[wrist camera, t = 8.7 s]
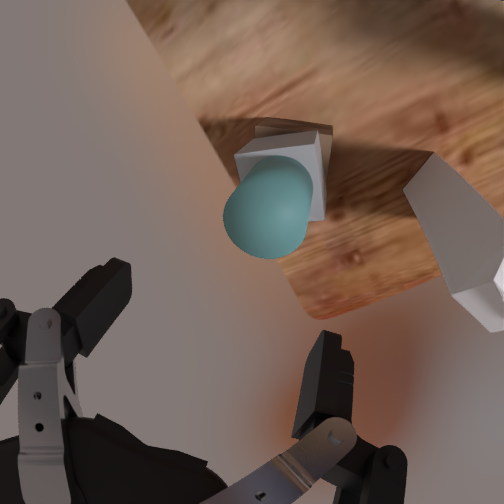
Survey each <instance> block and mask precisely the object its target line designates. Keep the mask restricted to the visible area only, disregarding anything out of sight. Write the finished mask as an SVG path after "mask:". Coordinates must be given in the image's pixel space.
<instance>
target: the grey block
mask: <svg viewBox="0 0 504 504" xmlns="http://www.w3.org/2000/svg"><path fill="white" fill-rule="evenodd" d="M275 155H281V156H287V157H290V158H293V159H295V160H297V161H298V162H300V163H301V164H302V165H303V166H304V167H305V168H306V169H307V171H308V172H309V174H310V176H311V179H312V182H313V195H312V201H311V207H310V213H309V219H308V221H320V220H325V210H326V196H327V191H326V183H325V176H324V168H323V161H322V154H321V147H320V141H319V135H318V130H316V131H307V132H298V133H290V134H283V135H276V136H269V137H262V138H255V139H252V140H251V141H250V142H248V143H247V144H246V145H245V146H244V147H243V148H241V149H240V150H239V151H238V152H237V153H236V154H234V157H235V161H236V165H237V170H238V174H239V178H240V183H241V182H242V181H243V179H244V178H245V177H246V176H247V174H248V173H249V172H250V171H251V169H252V168H253V167H254V166H255V165H256V164H257V163H258V162H259V161H261V160H262V159H264V158H266V157H269V156H275Z"/></svg>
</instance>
